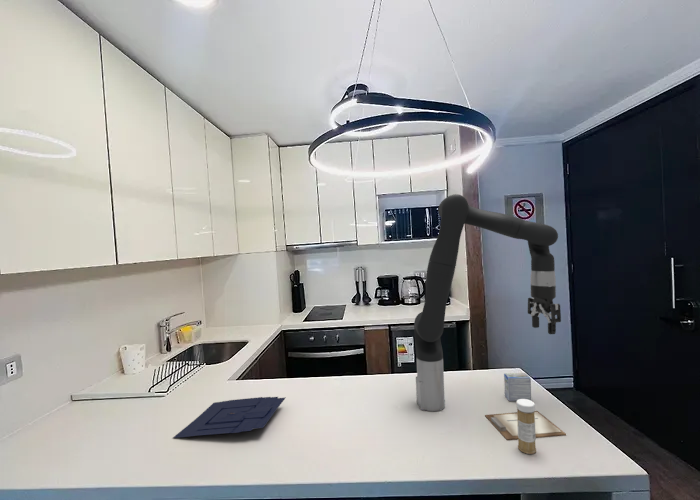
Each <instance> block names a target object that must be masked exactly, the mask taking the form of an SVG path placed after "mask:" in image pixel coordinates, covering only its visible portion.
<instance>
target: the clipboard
mask: <svg viewBox="0 0 700 500" xmlns="http://www.w3.org/2000/svg"><path fill="white" fill-rule="evenodd" d="M534 416H535V437H536V439H539V438H548V437H549V438H551V437H563V436H567V433H566V432H564V431H563V430H562V429H561V428H559V427H558V426H557V425H556V424H554V423H553V422H552V421H551V420H549V419H548V418H547V417H546V416H544V414H543V413H540V412H539V411H538V410H535V412H534ZM484 417H485V418H486V419H487V420H488V421H489V422H490V423H491V425H493V427H494V428H495V429H496V430H497V431H498V432H499V433H500V434H501V435H502V436H503V438H504V439H505V440H506V441H513V440H514V441H515V440H517V441H518V416H517V412H508V413H507V412H505V413H493V414H485V415H484Z"/></svg>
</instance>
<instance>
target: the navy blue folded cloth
mask: <svg viewBox="0 0 700 500" xmlns="http://www.w3.org/2000/svg"><path fill="white" fill-rule="evenodd" d="M285 399H286V397H279V396H272V397H271V396H266V397H265V396H264V397H263V396H260V397H250V398H249V397H248V398H238V399H229V400H223V401H217V402H213V403H212V404H211V405H209V406H208V407H207V408H206V409H205V410H204V411H203V412H202V413H201V414H199V416H197V417H196V418H195V419H194V420H193V421H191V422H190V423H189V424H188V425H186V426H185V427H184V428H182V429H181V430H180V431H179V432H178V433H176V434H175V436H173V437H172V439H173V438H175V439H176V438H188V437H194V436H195V437H196V436H209V435H220V434H221V435H222V434H236V433H241V432H250V431H252V430H254V429H263V428H264V427H265V426H266V425H267V423H268V422H269V421H270V419H271V418H272V416H273V415H274V413H275V412H276V411H277V410H278V408H279V407H280V405H281V404H282V403H283V402H284V401H285Z"/></svg>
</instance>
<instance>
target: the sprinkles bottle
mask: <svg viewBox="0 0 700 500" xmlns="http://www.w3.org/2000/svg"><path fill="white" fill-rule="evenodd" d="M515 403H516V405H515V407H516V410H517V416H518V439H517V443H518V445H517V448H518V450H519V451H520V452H522V453H524V454H527V455H533V454H536V452H537V448H536V439H537V438H536V437H535V416H534V412H535V411H536V404H535V402H534V401H532V399H531V400H528V399H518V400H517V401H515Z"/></svg>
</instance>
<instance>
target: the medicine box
mask: <svg viewBox="0 0 700 500" xmlns="http://www.w3.org/2000/svg"><path fill="white" fill-rule="evenodd" d="M503 380H504V381H503V382H504V385H503V386H504V397H505V398H506V399H507V401H508V402H516V401H517V400H518V399H528V400H531V401H532V378H531V377H530V376H529V375H528V374H527V373H526V372H524V373H523V372H520V373H519V372H518V373H517V372H514V373H511V372H510V373H503Z"/></svg>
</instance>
